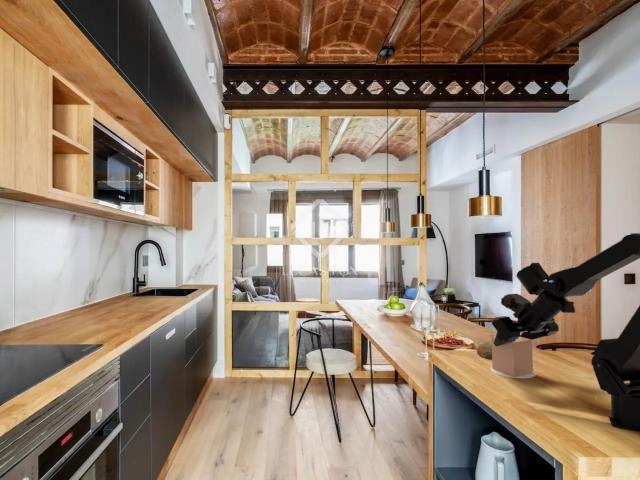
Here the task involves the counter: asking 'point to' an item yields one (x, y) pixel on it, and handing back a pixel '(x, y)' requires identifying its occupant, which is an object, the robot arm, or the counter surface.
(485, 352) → the bread roll
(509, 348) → the pink knobbed box
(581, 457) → the counter surface
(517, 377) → the plate
